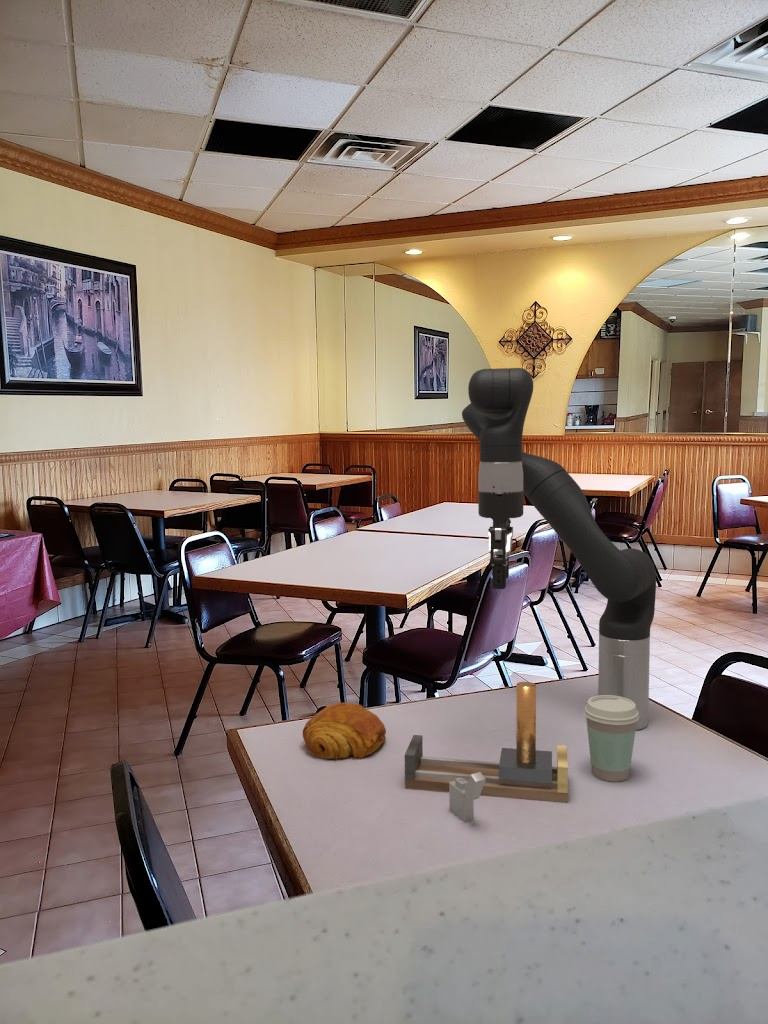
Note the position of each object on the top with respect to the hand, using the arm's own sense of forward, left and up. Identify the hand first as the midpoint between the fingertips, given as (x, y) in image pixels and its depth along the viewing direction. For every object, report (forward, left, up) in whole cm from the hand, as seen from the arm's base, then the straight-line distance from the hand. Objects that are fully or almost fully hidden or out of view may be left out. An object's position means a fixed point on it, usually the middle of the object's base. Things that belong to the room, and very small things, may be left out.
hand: (500, 583), depth 128 cm
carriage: (+12, +5, -27) cm, 30 cm away
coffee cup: (+5, +18, -30) cm, 36 cm away
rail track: (+12, -2, -30) cm, 32 cm away
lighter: (+24, -3, -30) cm, 39 cm away
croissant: (+1, -28, -30) cm, 41 cm away
